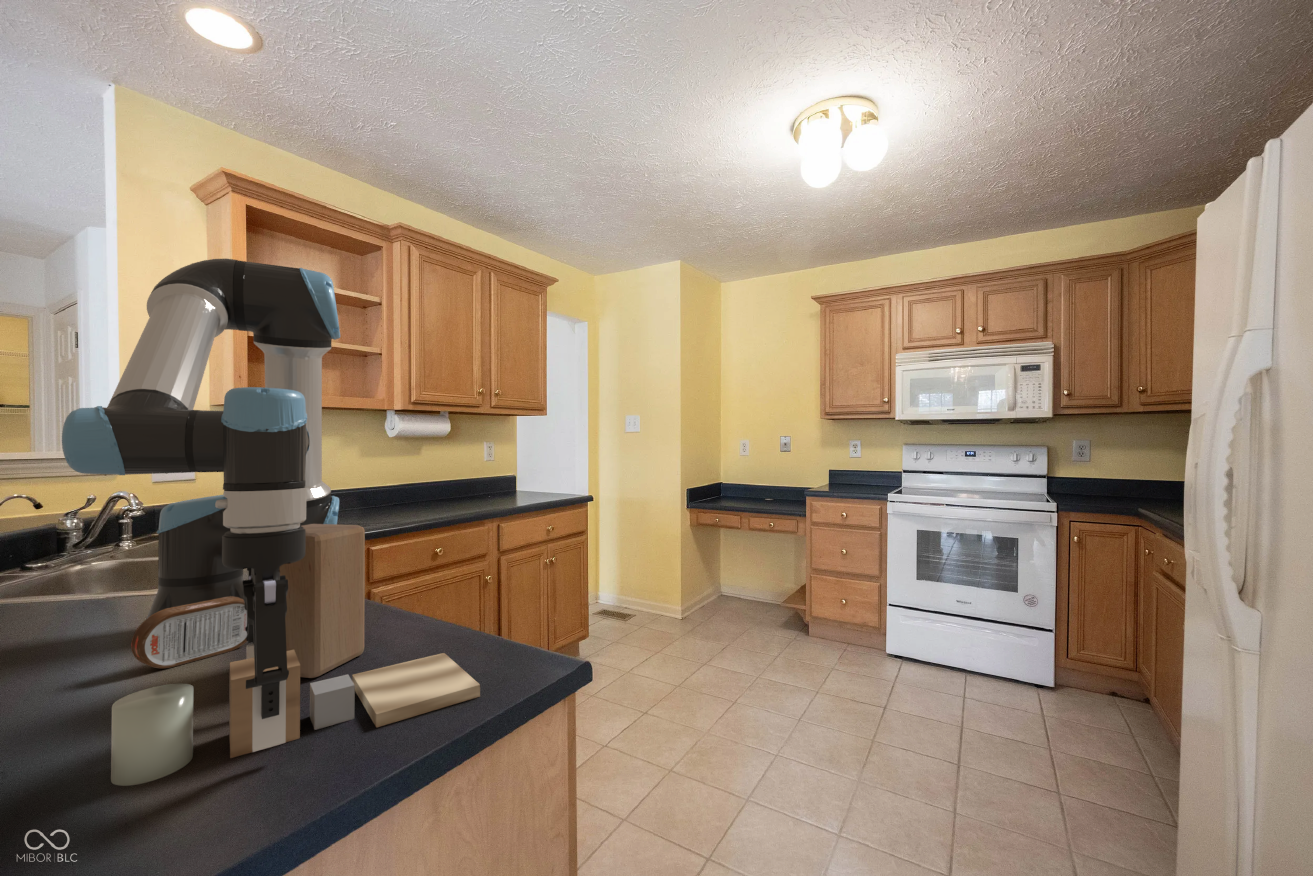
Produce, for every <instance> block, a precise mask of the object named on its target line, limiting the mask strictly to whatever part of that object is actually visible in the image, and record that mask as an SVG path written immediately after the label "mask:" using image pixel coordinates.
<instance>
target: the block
mask: <svg viewBox="0 0 1313 876" xmlns="http://www.w3.org/2000/svg"><path fill="white" fill-rule="evenodd" d="M302 527H303V529H305V530H306V547H305V556H304V558H303V559H301V560H299V561H297V562H294V563H290V564H283V565H281V566H280V576H282V575H285V577H286V579H288V593H287V596H286V601H287V613H286V617H285V624H286V649H287V651H290V650H294V651H295V653H296V656H297V658H298V661H299V663H300V678H307V679H315V678H318V677H320V676H322V675H323V674H326V673H327V672H330V671H331V670H334V669H336V668H337V667H339V666H341V665H343V664H346V663H347V662H350V661H351V660H353V659H355V658H356V657H359V656H361V655H362V654H363V653H364V650H365V607H366V606H365V599H366V598H365V593H366V592H365V590H366V589H365V582H366V581H365V580H366V579H365V577H366V573H365V566H366V565H365V564H366V563H365V562H366V557H365V555H366V554H365V553H366V552H365V551H366V550H365V549H366V547H365V545H366V544H365V543H366V538H365V535H366V530H365V528H364V527H363V526H361V525H358V524H338V523H337V524H309V525H303V526H302Z"/></svg>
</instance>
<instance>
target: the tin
mask: <svg viewBox="0 0 1313 876" xmlns="http://www.w3.org/2000/svg"><path fill="white" fill-rule="evenodd" d="M146 618H147V617H146ZM246 626H247V610H245V606H244V600H243V599H241V598H238V597H223V598H218V599H213V600H208V601H203V602H198V603H193V604H187V605H182V606H177V607H172V608H167V609H164V610H161V611H159V612H157V613H155V614H153V615H151V616H150V617H148V618H147V619H144V621H143V622H142V623H140V625H139V626H138V627H137V628H136V629H135V631H134V633H133V636H132V639H131V643H130V649H131V653H132V655H133V656H134V658H135V659H136V660H137V661H138V662H139V663H142V664H143V665H147V666H148V667H151V668H153V669H154V668H155V669H171V668H174V667H179V666H182V665H186V664H189V663H193V662H196V661H200V660H204V659H207V658H211V657H215V656H218V655H219V656H220V655H222V654H226V653H230V652H232V651H236V650H237V649H239V648H240V647H242V646H243V645H245V644H246V643H248V641H246V636H247V632H246V631H245V627H246Z"/></svg>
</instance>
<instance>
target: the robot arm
mask: <svg viewBox="0 0 1313 876" xmlns="http://www.w3.org/2000/svg"><path fill="white" fill-rule="evenodd" d="M337 308H338V307H337V302H336V295H335V287H334V281H333V280H332V278H331V277H330V276H329V275H328V274H326V273H324V272H321V271H316V270H311V269H306V268H302V267H293V266H292V267H291V266H284V265H283V266H282V265H277V264H276V265H275V264H268V263H261V262H260V263H259V262H254V261H253V262H252V261H246V260H238V259H233V258H211V259H205V260H200V261H197V262H192V263H190V264H187V265H185V266H183V267H180V268H178V269H176V270H174V271H172V272H170V273H169V274H168V275H166V276H165V277H163V278H162V279H160V281H158V283H157V284H156V285H155V286H154V287H153V288H152V291H151V292H150V294H149V296H148V298H147V301H146V312H147V315H148V316H149V317H148V320H147V321H146V324H145V326H144V328H143V331H142V333H141V335H140V337H139V339H138V341H137V343H136V346H135V348H134V350H133V352H132V354H131V356H130V358H129V360H128V361H127V365H126V367H125V369H124V371H123V372H122V375H121V377H120V379H119V382H118V383H117V386H116V388H115V390H114V391H113V394H112V397H111V399H110V400H109V403H108V405H107V407H103V406H102V405H97V406H95V407H79V408H77V409H73V410H72V411H70V413H69V414H67V416H66V418H65V420H64V422H63V427H62V431H61V432H62V433H61V447H62V452H63V456H64V460H65V461H66V464H67V466H68V467H70V469H71V470H73V471H75V472H77V473H80V474H83V475H84V474H85V475H88V474H89V475H118V476H126V475H152V474H153V475H154V474H156V475H157V474H183V473H184V474H186V473H188V474H189V473H223V485H222V490H223V494H219V495H211V496H204V497H198V498H193V499H191V498H190V499H186V500H181V501H175V502H172V503H169V504H166V505H165V506H164V507H162V509H161V510H160V513H159V522H158V529H157V531H156V534H158V545H157V546H158V550H157V551H158V553H157V554H158V560H157V561H158V569H157V570H158V571H157V572H158V573H157V575H158V580H157V583H158V586H157V592H156V594H155V597H154V599H153V601H152V604H151V606H150V609H149V611H148V614H147V616H146V619H147V618H148V617H150V616H151V615H153V614H155V613H157V612H159V611H161V610H164V609H167V608H172V607H177V606H182V605H187V604H193V603H198V602H203V601H208V600H213V599H218V598H223V597H238V598H241V599H243V600H244V606H245V610H247V626H246V627H245V631H246V632H247V636H246V641H247V644H248V645H246V652H245V653H246V658H245V659H249V658H254V666H255V677H254V678H253V679H249V680H246V689H249V688H253V703H252V751H253V752H252V753H255V752H258V751H261V750H265V749H270V748H272V747H276V746H279V745H282V744H286V743H287V742H286V680H287V678H288V675H289V670H288V669H287V649H286V624H285V617H286V613H287V601H286V596H287V593H288V579H286V577H285V575H282V576H280V566H281V565H283V564H290V563H294V562H297V561H299V560H301V559H303V558H304V556H305V547H306V530H305V529H303V527H302V526H303V525H309V524H338V519H339V517H338V516H339V510H340V498H339V497H338V496H335V495H332V489H331V487H330V486H329V485H328V484H326V483H325V482H324V481H323V479H322V477H323V473H322V471H323V465H322V463H323V460H322V459H323V458H322V457H323V456H322V455H323V454H322V453H323V450H322V449H323V448H322V447H323V444H322V443H323V442H322V441H323V439H322V438H323V437H322V436H323V434H322V433H323V431H322V430H323V429H322V428H323V427H322V425H323V424H322V420H323V419H322V417H323V416H322V415H323V411H322V410H323V404H322V403H323V400H322V399H323V398H322V395H323V392H322V391H323V390H322V389H323V388H322V387H323V382H322V381H323V380H322V379H323V377H322V376H323V374H322V373H323V357H324V355H325V354H327V353H328V352H329V351H330V350H331V349H332V340H334V341H336V340H339V339H340V338H341V332H340V324H339V316H338V310H337ZM225 330H232V331H241V332H250V333H252V335H253V340H252V341H253V344H254V345H255V346H256V347H257V348H258V349H260V350H261V351H262V352H263V354H264V387H263V386H262V387H261V386H260V387H257V386H256V387H255V386H248V387H246V386H245V387H234V388H231V389H229V390H228V391H226V393H225V394H224V398H223V399H224V400H223V410H207V409H206V410H204V409H203V410H201V409H194V407H195V405H196V402H197V398H198V395H199V391H200V388H201V384H202V381H203V378H204V374H205V371H206V367H207V365H208V361H209V358H210V355H211V351H212V348H213V344H214V340H215V338H217V337H219V336H220V335H221V334H223V332H225ZM244 569H246V571H247V573H248V579H245V578H244ZM146 619H145V620H146ZM250 643H251V644H250ZM273 667H278V669H274V670H269V671H264V670H265V669H268V668H273ZM263 671H264V672H263Z"/></svg>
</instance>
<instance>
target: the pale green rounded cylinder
mask: <svg viewBox="0 0 1313 876" xmlns="http://www.w3.org/2000/svg"><path fill="white" fill-rule="evenodd" d="M110 739H111V741H110V743H111V744H110V745H111V746H110V748H111V749H110V750H111V753H110V754H111V755H110V757H111V759H110V761H111V762H110V771H111V772H110V782H111V783H112V784H113V785H115V786H121V787H123V786H126V787H128V786H135V785H141V784H146V783H149V782H153V781H156V780H159V779H162V778H164V777H167V776H169V775H171V774H173V773H176V772H178V771H179V770H181V769H182V768H184V767H186V766H187V765H188V764H189V763H190V762H191V761H192V759H193V758H194V686H193V685H191V684H189V683H170V684H162V685H158V686H153V687H149V688H145V689H142V690H138V691H135V692H133V693H130V694H127V695H125V696H123V697H121V698H118V699H117V700H116V701H115V702H114V703H113V704H112V705H111V738H110Z"/></svg>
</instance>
